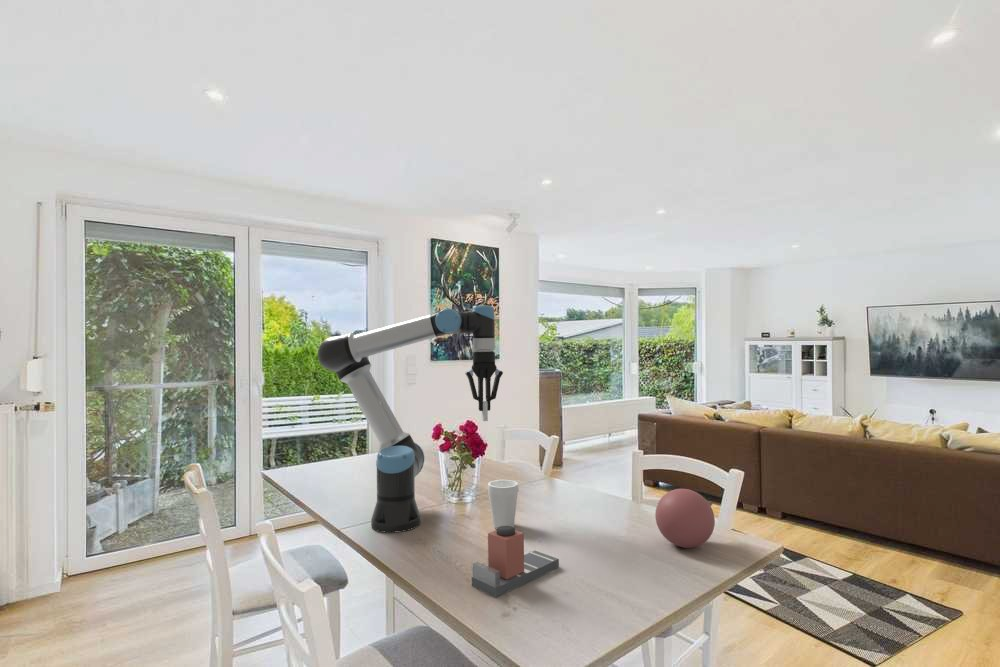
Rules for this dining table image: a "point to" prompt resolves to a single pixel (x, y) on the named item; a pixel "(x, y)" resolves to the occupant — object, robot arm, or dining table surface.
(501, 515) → the foam cup
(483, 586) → the track
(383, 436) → the robot arm
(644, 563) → the dining table surface
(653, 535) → the dining table surface
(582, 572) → the dining table surface
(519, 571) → the plug
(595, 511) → the dining table surface
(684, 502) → the balloon
